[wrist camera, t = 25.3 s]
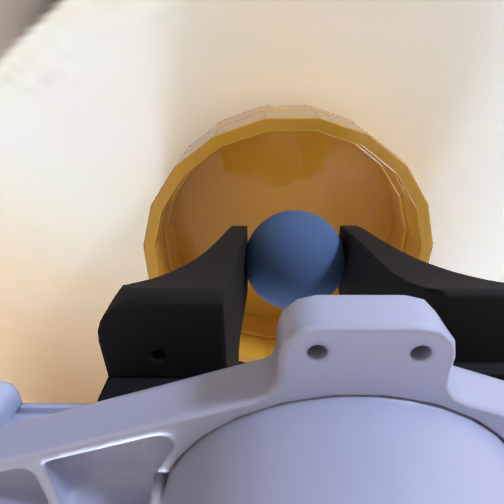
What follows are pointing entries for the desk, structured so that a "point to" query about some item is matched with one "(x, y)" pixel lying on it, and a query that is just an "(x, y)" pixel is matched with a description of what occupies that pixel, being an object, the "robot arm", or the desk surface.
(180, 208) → the bowl
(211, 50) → the desk surface
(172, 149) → the desk surface
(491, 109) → the desk surface
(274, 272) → the slate-blue ball
